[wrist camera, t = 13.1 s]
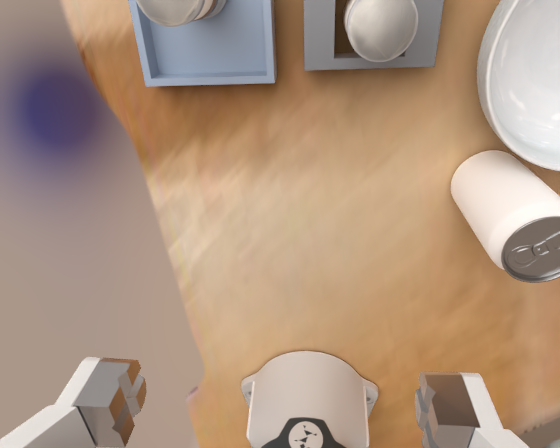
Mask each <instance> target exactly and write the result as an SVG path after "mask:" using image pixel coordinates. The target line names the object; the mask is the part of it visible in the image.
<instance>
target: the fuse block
mask: <svg viewBox="0 0 560 448" xmlns="http://www.w3.org/2000/svg"><path fill="white" fill-rule="evenodd" d="M443 3H444V0H348V1H347V2H346V4H345V7H344V10H343V16H342V19H343V26H344V29H345V31H346V33H347V35H348V38H349V41H350V43H351V45H352V47H353V49H354V50H355V51H356V52H353V53H334V35H335V0H304V70H337V69H371V68H405V67H434V65H435V58H436V51H437V45H438V38H439V31H440V24H441V17H442V10H443Z"/></svg>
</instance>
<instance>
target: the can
mask: <svg viewBox="0 0 560 448" xmlns="http://www.w3.org/2000/svg"><path fill="white" fill-rule="evenodd" d="M451 194H452V197H453V199H454V201H455V202H456V204H457V206H458V207H459V209H460V211H461V212H462V214H463V215H464V217H465V219H466V220H467V222H468V224H469V225H470V227H471V228H472V230H473V232H474V233H475V235H476V236H477V238H478V240H479V241H480V243H481V244H482V246H483V248H484V249H485V251H486V252H487V254H488V255H489V257H490V258H491V260H492V261H493V262H494V263H495V264H496V265H497V266H498V267H500V268H501V269H503V270H505V271H506V272H507V273H508V274H509V275H510V276H512V277H513V278H515V279H517V280H520V281H523V282H530V283H539V282H546V281H550V280H554V279H556V278H559V277H560V196H559V195H558V194H556V193H555V192H554V191H553V190H552V189H551V188H550V187H549V186H547V185H546V184H545V183H544V182H543V181H542V180H541V179H540V178H538V177H537V176H536V175H535V174H534V173H533V172H532V171H530V170H529V169H528V168H527V167H526V166H525V165H524V164H522V163H521V162H520V161H519V160H518V159H516V158H515V157H514V156H512V155H511V154H509V153H507V152H504V151H498V150H490V151H484V152H481V153H478V154H475V155H473V156H471V157H470V158H468V159H467V160H466V161H464V162H463V163H462V164H461V165H460V166H459V167H458V169H457V170H456V172H455V173H454V175H453V178H452V181H451Z"/></svg>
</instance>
